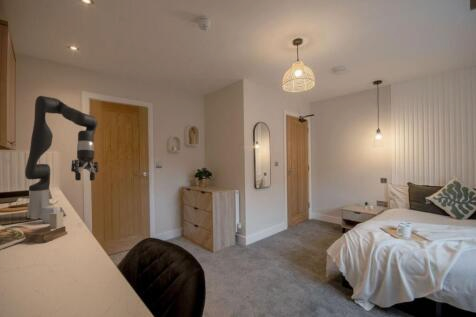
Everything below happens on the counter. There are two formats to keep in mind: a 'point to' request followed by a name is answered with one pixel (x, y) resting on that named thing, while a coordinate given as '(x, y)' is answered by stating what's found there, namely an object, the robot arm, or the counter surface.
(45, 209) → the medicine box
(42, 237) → the slot stand
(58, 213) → the clay bar
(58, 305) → the counter surface
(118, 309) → the counter surface
